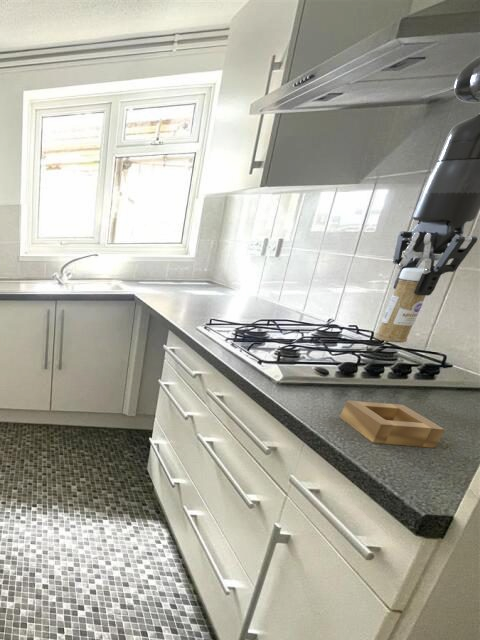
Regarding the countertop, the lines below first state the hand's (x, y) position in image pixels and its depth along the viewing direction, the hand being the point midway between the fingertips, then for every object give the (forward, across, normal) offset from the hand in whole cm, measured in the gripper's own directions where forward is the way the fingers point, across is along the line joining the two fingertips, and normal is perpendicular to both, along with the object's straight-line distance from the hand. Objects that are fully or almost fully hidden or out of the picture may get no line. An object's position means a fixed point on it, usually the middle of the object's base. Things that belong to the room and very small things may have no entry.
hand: (410, 291), depth 77 cm
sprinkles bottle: (+10, 0, 0) cm, 10 cm away
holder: (+26, -7, -1) cm, 27 cm away
